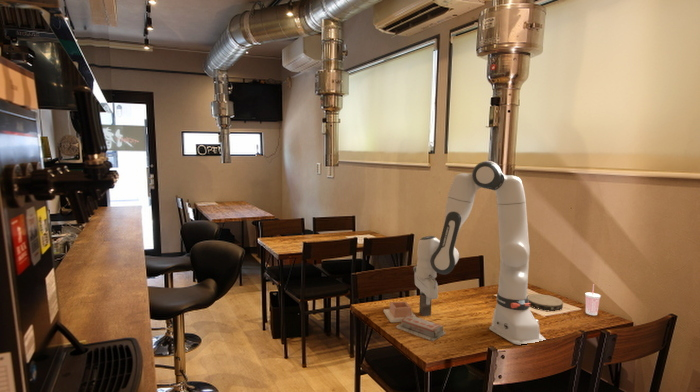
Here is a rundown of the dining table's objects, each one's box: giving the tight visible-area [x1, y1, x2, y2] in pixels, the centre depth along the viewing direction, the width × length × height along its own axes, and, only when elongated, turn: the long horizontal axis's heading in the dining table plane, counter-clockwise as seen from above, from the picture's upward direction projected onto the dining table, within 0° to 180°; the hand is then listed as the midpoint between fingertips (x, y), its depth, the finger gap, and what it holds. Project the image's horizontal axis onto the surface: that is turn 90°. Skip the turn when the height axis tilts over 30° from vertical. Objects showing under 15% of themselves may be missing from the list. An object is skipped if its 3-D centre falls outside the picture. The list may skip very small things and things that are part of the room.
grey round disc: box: [527, 293, 564, 312], centre depth 199 cm, size 16×16×3 cm
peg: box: [418, 292, 432, 317], centre depth 185 cm, size 4×4×9 cm
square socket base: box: [383, 301, 416, 323], centre depth 182 cm, size 12×12×5 cm
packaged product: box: [395, 315, 446, 342], centre depth 167 cm, size 18×5×10 cm
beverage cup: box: [584, 283, 601, 316], centre depth 188 cm, size 6×6×14 cm
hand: (425, 301), depth 185 cm, fingers closed on peg, 4 cm apart
